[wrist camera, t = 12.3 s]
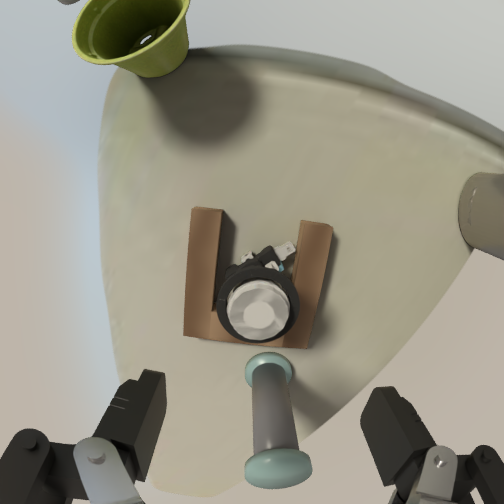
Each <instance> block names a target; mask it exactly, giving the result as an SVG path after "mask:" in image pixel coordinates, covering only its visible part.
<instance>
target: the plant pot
mask: <svg viewBox="0 0 504 504" xmlns="http://www.w3.org/2000/svg"><path fill="white" fill-rule="evenodd" d="M189 4H190V0H89V1H88V2H87V3H86V4H85V6H84V7H83V9H82V10H81V12H80V13H79V15H78V17H77V19H76V22H75V24H74V27H73V32H72V44H73V48H74V50H75V52H76V53H77V54H78V55H79V57H81V58H82V59H84V60H85V61H87V62H90V63H93V64H98V65H111V64H114V65H117V66H119V67H121V68H124V69H126V70H128V71H130V72H133V73H135V74H137V75H139V76H141V77H145V78H148V77H160V76H164V75H166V74H168V73H170V72H172V71H173V70H175V69H176V68H177V67H178V66H179V65H180V64H181V63H182V62H183V61H184V59H185V57H186V55H187V52H188V47H189V41H188V34H187V27H186V20H185V15H186V12H187V10H188V7H189ZM149 35H151V37H150V38H149V39H147V40H146V41H145V42H144V43H143V44H140V43H141V41H142V40H143V39H144V38H146V37H147V36H149Z"/></svg>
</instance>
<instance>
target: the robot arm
mask: <svg viewBox="0 0 504 504" xmlns="http://www.w3.org/2000/svg"><path fill="white" fill-rule="evenodd" d="M459 224H460V229H461V232H462V235H463V237H464V239H465V240H466V242H467V243H468V244H469V245H470V246H472V247H473V248H476V249H479V250H481V251H483V252H486V253H488V254H491V255H493V256H495V257H497V258H500V259H502V260H504V174H497V173H482V172H481V173H476V174H475V175H473V176H472V177H471V178H470V179H469V180H468V181H467V183H466V184H465V186H464V188H463V191H462V193H461V197H460V202H459ZM166 407H167V398H166V380H165V373H163V372H158V371H153V370H148V369H144V370H143V372H142V374H141V376H140V378H139V380H138V381H136V380H132V379H129V380H127V381H126V382H125V383H123V384H122V385H121V386H119V388H118V390H117V392H116V394H115V396H114V398H113V399H112V401H111V403H110V406H108V408H107V410H106V412H105V414H104V416H103V417H102V419H101V421H100V423H99V425H98V427H97V429H96V430H95V433H94V434H93V436H92V437H90V438H85V439H83V440H81V441H80V442H78V443H77V444H74V445H72V444H62V443H55V442H49V440H48V438H47V437H46V436H45V435H44V434H43V433H42V432H40V431H38V430H36V429H23V430H21V431H19V432H18V433H17V434H15V436H14V437H13V439H12V440H11V442H10V444H9V445H8V447H7V448H6V450H5V452H4V453H3V455H2V457H1V459H0V504H72V501H73V498H74V499H83V500H89V501H90V503H91V504H145V503H144V502H143V500H142V499H141V497H140V495H139V493H138V492H137V490H136V488H135V486H134V484H135V480H138V481H142V482H145V479H146V476H147V473H148V469H149V466H150V463H151V459H152V456H153V453H154V449H155V446H156V443H157V440H158V436H159V433H160V430H161V427H162V424H163V421H164V417H165V414H166ZM360 422H361V423H360V424H361V428H362V431H363V433H364V436H365V438H366V441H367V443H368V446H369V448H370V451H371V453H372V456H373V458H374V461H375V464H376V466H377V469H378V472H379V474H380V477H381V480H382V482H383V485H384V486H389V485H394V484H395V485H396V489H395V490H394V492H393V494H392V496H391V498H390V501H389V503H388V504H475V503H474V501H473V498H472V496H471V494H470V492H471V491H472V490H473V489H474V488H475V487H476V488H477V489H478V492H479V494H480V496H481V498H482V500H483V502H484V504H504V463H503V462H502V460H501V458H500V457H499V455H498V454H497V452H496V451H495V450H494V449H493V448H492V447H490V446H487V445H480V446H478V447H476V449H475V450H474V451H473V452H472V453H471V454H470V455H456V454H455V453H454V451H452V450H451V449H450V448H448V447H445V446H437V445H436V443H435V441H434V440H433V438H432V436H431V435H430V433H429V431H428V430H427V428H426V427H425V425H424V423H423V422H421V418H420V417H419V415H417V412H416V410H415V409H414V407H413V406H412V404H411V403H409V402H408V401H407V400H406V399H405V398H403V397H400V395H399V394H398V392H397V390H396V389H395V388H394V387H392V386H389V387H376V388H375V389H374V390H373V391H372V393H371V395H370V398H369V400H368V402H367V404H366V406H365V408H364V410H363V412H362V415H361V419H360Z"/></svg>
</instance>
